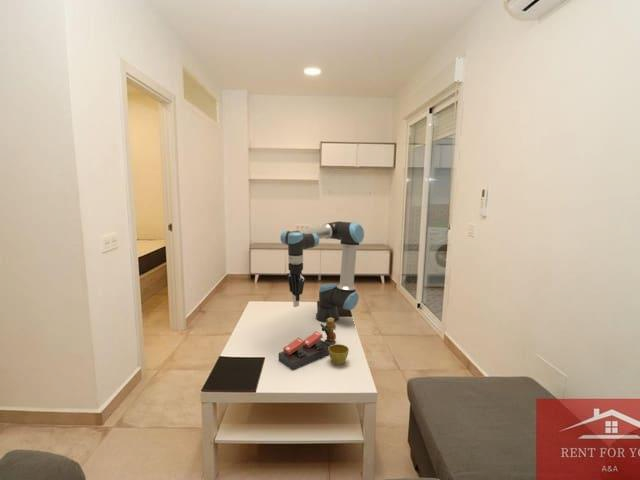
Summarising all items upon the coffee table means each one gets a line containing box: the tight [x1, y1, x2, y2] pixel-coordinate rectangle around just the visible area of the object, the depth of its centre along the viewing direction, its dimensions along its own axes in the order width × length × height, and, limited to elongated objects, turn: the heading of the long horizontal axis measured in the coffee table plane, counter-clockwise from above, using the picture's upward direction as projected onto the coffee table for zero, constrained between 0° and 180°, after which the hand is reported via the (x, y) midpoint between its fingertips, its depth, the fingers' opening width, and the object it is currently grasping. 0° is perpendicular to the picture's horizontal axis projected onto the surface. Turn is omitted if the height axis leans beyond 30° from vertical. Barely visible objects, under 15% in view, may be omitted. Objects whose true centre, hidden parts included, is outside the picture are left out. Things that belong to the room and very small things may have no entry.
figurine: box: [320, 318, 338, 345], centre depth 190 cm, size 9×8×15 cm
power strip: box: [278, 339, 331, 371], centre depth 174 cm, size 26×12×6 cm, turn 131°
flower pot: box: [328, 343, 350, 366], centre depth 170 cm, size 10×10×7 cm
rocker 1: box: [282, 337, 305, 355], centre depth 172 cm, size 10×5×2 cm, turn 131°
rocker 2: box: [304, 330, 324, 348], centre depth 179 cm, size 10×5×2 cm, turn 131°
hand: (296, 306), depth 179 cm, fingers closed
